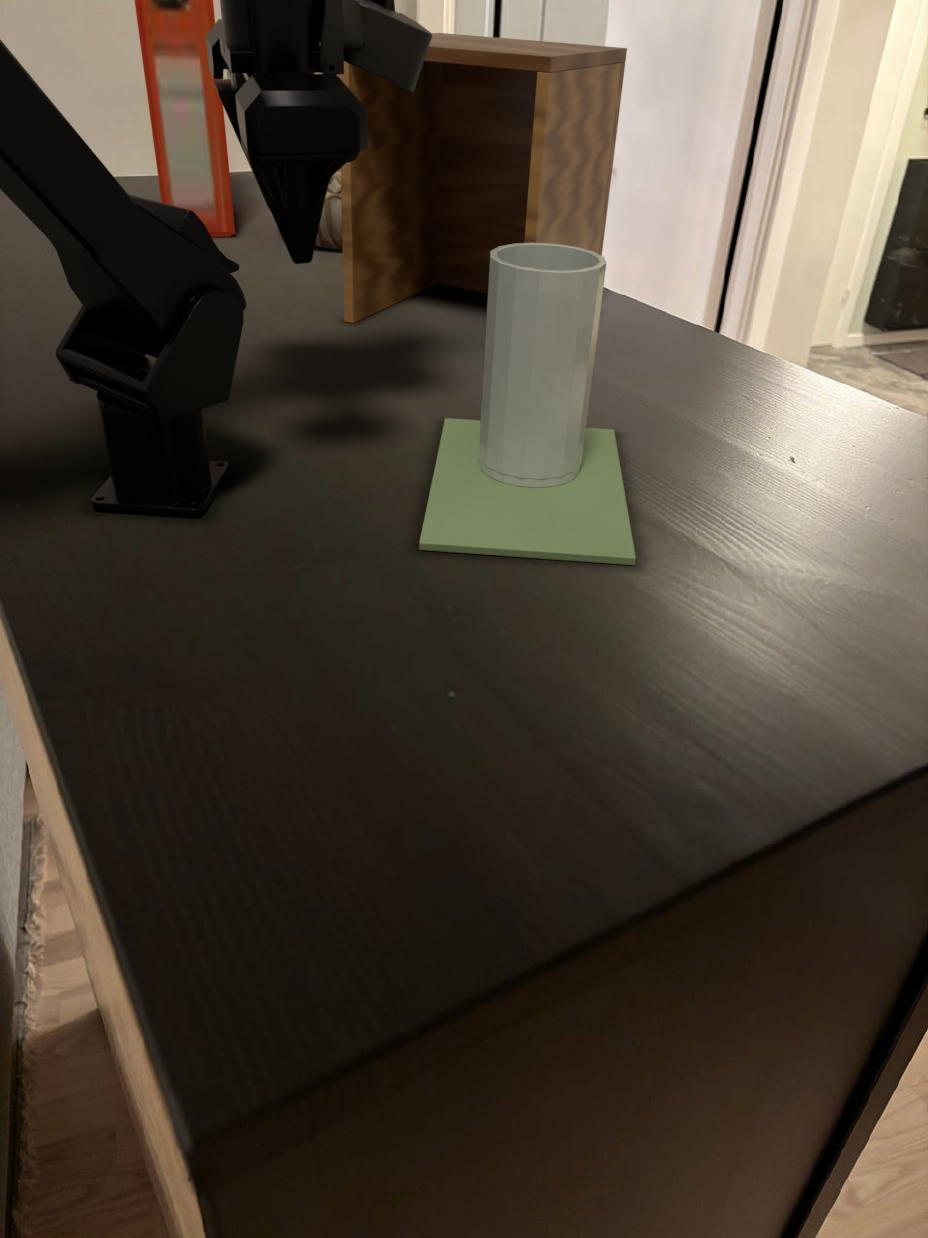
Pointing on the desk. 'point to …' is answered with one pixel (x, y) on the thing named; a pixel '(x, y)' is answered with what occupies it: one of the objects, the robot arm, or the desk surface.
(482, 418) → the container
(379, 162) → the cubby cabinet
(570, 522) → the mat
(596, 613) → the desk surface
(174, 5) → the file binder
